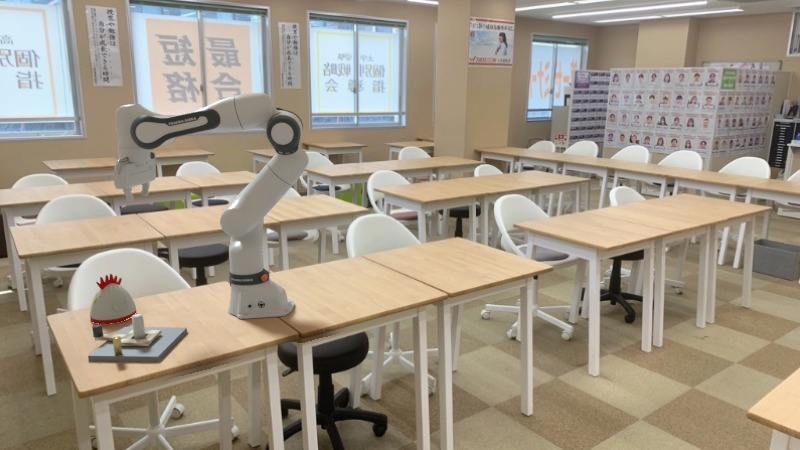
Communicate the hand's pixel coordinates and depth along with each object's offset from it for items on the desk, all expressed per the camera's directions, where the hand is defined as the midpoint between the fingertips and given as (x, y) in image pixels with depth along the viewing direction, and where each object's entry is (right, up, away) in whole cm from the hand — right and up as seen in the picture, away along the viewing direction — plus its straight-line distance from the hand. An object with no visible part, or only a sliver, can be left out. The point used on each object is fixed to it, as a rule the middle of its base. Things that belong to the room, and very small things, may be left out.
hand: (137, 198), depth 179 cm
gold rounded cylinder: (+6, -45, -23) cm, 51 cm away
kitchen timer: (-12, -40, +8) cm, 42 cm away
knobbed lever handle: (+3, -43, -15) cm, 45 cm away
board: (+8, -45, -14) cm, 48 cm away
